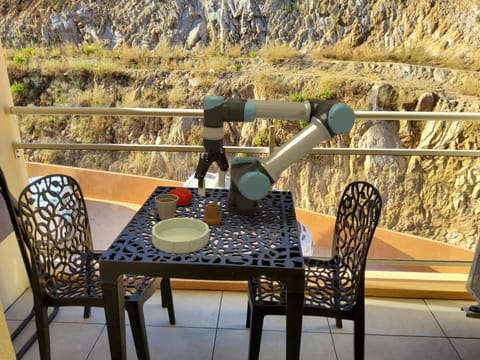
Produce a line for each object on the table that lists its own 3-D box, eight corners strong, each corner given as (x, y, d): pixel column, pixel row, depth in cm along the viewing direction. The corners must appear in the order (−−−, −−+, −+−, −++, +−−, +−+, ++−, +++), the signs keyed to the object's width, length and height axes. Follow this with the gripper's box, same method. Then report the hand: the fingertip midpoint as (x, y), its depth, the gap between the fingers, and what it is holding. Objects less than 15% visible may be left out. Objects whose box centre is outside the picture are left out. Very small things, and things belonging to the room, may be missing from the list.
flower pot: (173, 223, 153) (173, 203, 151) (151, 220, 155) (150, 200, 152) (181, 214, 162) (181, 195, 159) (160, 212, 164) (160, 193, 161)
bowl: (205, 227, 151) (206, 216, 149) (211, 251, 132) (211, 240, 131) (153, 229, 147) (153, 218, 146) (151, 255, 129) (150, 242, 127)
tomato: (175, 209, 168) (175, 195, 166) (165, 201, 176) (165, 187, 174) (195, 205, 173) (195, 191, 171) (185, 197, 181) (185, 184, 179)
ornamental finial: (220, 226, 152) (202, 225, 152) (221, 218, 160) (203, 218, 160) (221, 207, 150) (202, 206, 150) (222, 200, 157) (204, 200, 157)
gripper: (223, 131, 157) (221, 181, 164) (184, 141, 137) (184, 197, 143) (238, 134, 154) (236, 184, 160) (201, 144, 133) (200, 201, 140)
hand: (212, 190), depth 152 cm, fingers open, 13 cm apart
